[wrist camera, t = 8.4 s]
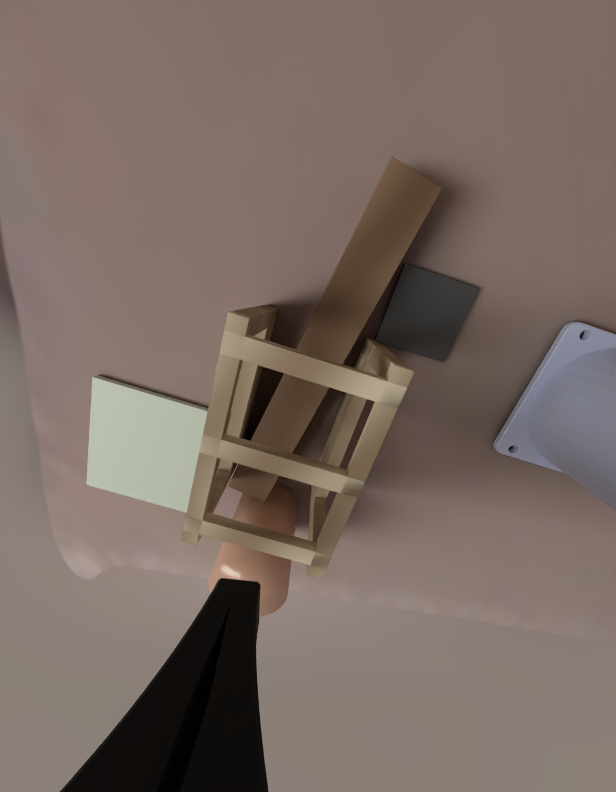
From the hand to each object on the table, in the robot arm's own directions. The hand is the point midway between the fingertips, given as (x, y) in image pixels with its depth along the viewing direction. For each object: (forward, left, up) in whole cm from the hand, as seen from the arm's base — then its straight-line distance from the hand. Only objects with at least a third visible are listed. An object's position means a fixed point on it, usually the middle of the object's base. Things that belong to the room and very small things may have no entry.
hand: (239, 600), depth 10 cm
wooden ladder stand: (0, -4, -10) cm, 10 cm away
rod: (0, -7, -10) cm, 12 cm away
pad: (+8, +2, -10) cm, 12 cm away
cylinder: (0, +4, -10) cm, 10 cm away
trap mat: (-5, -11, -10) cm, 15 cm away
